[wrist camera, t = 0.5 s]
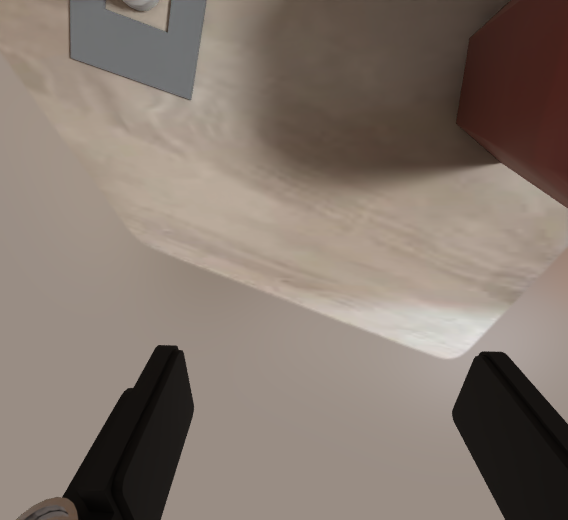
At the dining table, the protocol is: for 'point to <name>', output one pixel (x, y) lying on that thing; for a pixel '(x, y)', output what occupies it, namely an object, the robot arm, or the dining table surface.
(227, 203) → the dining table surface
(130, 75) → the grey frame plate
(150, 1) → the rook chess piece
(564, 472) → the robot arm
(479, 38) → the bucket
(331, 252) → the dining table surface
